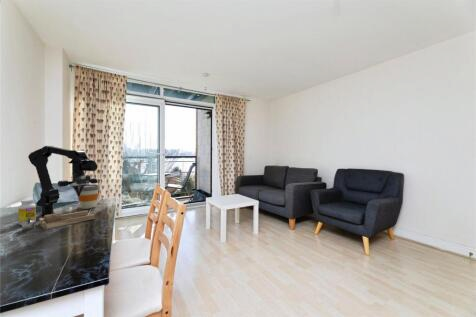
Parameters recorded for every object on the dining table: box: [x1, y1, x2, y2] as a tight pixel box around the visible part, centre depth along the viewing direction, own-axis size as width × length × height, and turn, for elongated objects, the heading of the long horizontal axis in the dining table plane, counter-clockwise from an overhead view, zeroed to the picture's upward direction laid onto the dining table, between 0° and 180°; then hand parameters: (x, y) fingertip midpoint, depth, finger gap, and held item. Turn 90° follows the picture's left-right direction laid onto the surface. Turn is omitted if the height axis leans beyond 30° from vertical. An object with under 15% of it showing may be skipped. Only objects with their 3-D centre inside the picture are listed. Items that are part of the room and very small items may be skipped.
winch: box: [21, 217, 35, 232], centre depth 105 cm, size 6×4×7 cm
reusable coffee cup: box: [77, 184, 100, 210], centre depth 147 cm, size 13×12×15 cm
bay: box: [38, 210, 95, 230], centre depth 118 cm, size 13×22×3 cm, turn 141°
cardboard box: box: [43, 212, 63, 223], centre depth 113 cm, size 6×6×5 cm
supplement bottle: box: [18, 198, 37, 226], centre depth 114 cm, size 7×7×13 cm
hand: (78, 196), depth 128 cm, fingers closed
